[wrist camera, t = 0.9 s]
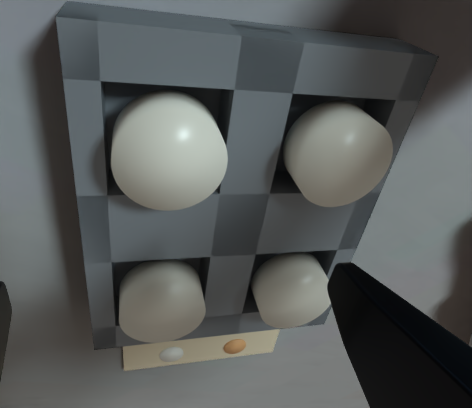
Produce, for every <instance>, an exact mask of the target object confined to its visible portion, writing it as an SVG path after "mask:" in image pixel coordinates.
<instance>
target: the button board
mask: <svg viewBox="0 0 472 408" xmlns="http://www.w3.org/2000/svg"><path fill="white" fill-rule="evenodd" d="M56 24H57V33H58V41H59V50H60V59H61V67H62V76H63V84H64V93H65V102H66V110H67V119H68V127H69V136H70V145H71V153H72V162H73V171H74V179H75V188H76V196H77V205H78V214H79V222H80V231H81V239H82V248H83V257H84V265H85V274H86V282H87V291H88V300H89V308H90V317H91V326H92V334H93V343H94V350H97V349H106V348H115V347H124V346H133V345H142V344H151V343H149V342H142V341H138V340H135V339H133V338H131V337H129V336H128V335H127V334H125V333H124V332H123V330H122V329H121V327H120V324H119V290H120V283H121V281H122V279H123V277H124V276H125V275H126V274H127V272H129V271H130V270H131V269H132V268H134V267H135V266H137V265H139V264H141V263H143V262H146V261H149V260H163V259H176V260H180V261H183V262H185V263H187V264H189V265H191V266H192V267H193V268H194V269H195V270H196V271H197V273H198V275H199V278H200V283H201V288H202V292H203V297H204V302H205V308H206V313H205V317H204V319H203V321H202V322H201V324H200V325H199V326H198V327H197V328H196V329H195V330H193V331H192V332H191V333H189V334H187V335H185V336H183V337H181V338H179V339H176V340H172V341H177V340H186V339H195V338H204V337H213V336H222V335H231V334H240V333H249V332H258V331H267V330H275V329H284V328H275V327H272V326H269V325H267V324H266V323H265V322H264V321H263V320H262V318H261V315H260V313H259V310H258V307H257V304H256V301H255V298H254V295H253V292H252V289H251V281H252V277H253V275H254V273H255V272H256V270H257V269H258V268H259V267H260V266H261V265H262V264H263V263H264V262H266V261H267V260H269V259H270V258H272V257H274V256H276V255H279V254H282V253H289V252H307V253H309V254H311V255H313V256H314V257H315V258H316V259H317V260H318V262H319V264H320V265H321V267H322V269H323V271H324V272H325V274H326V276H327V278H328V280H329V279H330V276H331V274H332V271H333V269H334V267H335V265H336V264H337V263H342V262H351V260H352V258H353V255H354V253H355V251H356V248H357V246H358V244H359V241H360V239H361V237H362V234H363V232H364V230H365V227H366V225H367V223H368V220H369V218H370V216H371V213H372V211H373V209H374V206H375V204H376V202H377V199H378V197H379V195H380V192H381V190H382V188H383V185H384V183H385V181H386V178H387V176H388V174H389V171H390V169H391V167H392V164H393V162H394V160H395V157H396V155H397V153H398V150H399V148H400V146H401V143H402V141H403V139H404V136H405V134H406V132H407V129H408V127H409V125H410V122H411V120H412V118H413V115H414V113H415V111H416V108H417V106H418V104H419V101H420V99H421V97H422V94H423V92H424V90H425V87H426V85H427V83H428V80H429V78H430V76H431V73H432V71H433V69H434V66H435V64H436V62H437V59H438V57H439V56H437V55H434V54H432V53H430V52H428V51H425V50H423V49H421V48H418V47H416V46H414V45H412V44H409V43H407V42H405V41H402V40H400V39H393V38H385V37H376V36H367V35H358V34H350V33H341V32H332V31H323V30H315V29H306V28H297V27H289V26H280V25H271V24H262V23H254V22H245V21H236V20H227V19H219V18H210V17H201V16H192V15H184V14H175V13H166V12H158V11H149V10H140V9H131V8H123V7H114V6H105V5H96V4H88V3H79V2H70V1H67V2H66V3H65V4H64V6H63V7H62V9H61V10H60V11H59V13H58V14H57V15H56ZM156 90H175V91H180V92H184V93H186V94H189V95H191V96H193V97H195V98H196V99H198V100H199V101H200V102H202V103H203V104H204V105H205V106H206V107H207V108H208V110H209V111H210V112H211V114H212V116H213V117H214V120H215V122H216V124H217V126H218V129H219V131H220V133H221V135H222V138H223V140H224V142H225V145H226V149H227V155H228V162H227V169H226V172H225V175H224V178H223V180H222V181H221V183H220V185H219V186H218V187H217V189H216V190H215V191H214V192H213V193H212V194H211V195H210V196H209V197H207V198H206V199H204V200H203V201H201V202H200V203H198V204H196V205H193V206H191V207H188V208H185V209H180V210H172V211H162V210H155V209H151V208H147V207H145V206H142V205H140V204H138V203H136V202H134V201H133V200H131V199H130V198H129V197H128V196H126V195H125V194H124V193H123V191H122V190H121V189H120V188H119V186H118V185H117V183H116V181H115V179H114V176H113V173H112V168H111V151H112V135H113V128H114V124H115V122H116V119H117V117H118V115H119V114H120V112H121V111H122V110H123V108H124V107H125V106H126V105H127V104H128V103H129V102H131V101H132V100H133V99H135V98H137V97H138V96H140V95H142V94H145V93H148V92H151V91H156ZM333 100H342V101H348V102H351V103H353V104H355V105H357V106H358V107H360V108H361V109H362V110H363V111H365V112H366V113H367V114H368V115H370V116H371V117H372V118H373V119H374V120H376V121H377V122H378V123H379V124H381V125H382V126H383V127H384V128H385V129H386V130H387V131H388V133H389V135H390V137H391V140H392V144H393V153H392V159H391V163H390V165H389V168H388V170H387V172H386V173H385V175H384V177H383V178H382V179H381V181H380V182H379V183H378V184H377V185H376V186H375V187H374V188H373V189H372V190H371V191H370V192H369V193H367V194H366V195H365V196H363V197H362V198H360V199H358V200H356V201H354V202H352V203H349V204H346V205H343V206H338V207H323V206H319V205H316V204H314V203H312V202H310V201H309V200H307V199H306V198H305V197H304V195H303V194H302V192H301V191H300V189H299V188H298V186H297V185H296V183H295V182H294V180H293V178H292V177H291V175H290V174H289V172H288V171H287V169H286V167H285V165H284V161H283V144H284V141H285V138H286V136H287V133H288V131H289V130H290V128H291V126H292V125H293V124H294V122H295V121H296V120H297V119H298V118H299V117H300V116H301V115H302V114H303V113H305V112H306V111H307V110H309V109H310V108H312V107H314V106H316V105H318V104H321V103H324V102H327V101H333ZM331 307H332V305H331V304H330V305H329V307H328V308H327V309H326V310H325V311H324V312H323V313H322V314H321V315H320V316H319V317H317V318H316V319H314V320H312V321H310V322H308V323H306V324H304V325H301V326H298V327H302V326H311V325H320V324H324V323H325V321H326V318H327V316H328V314H329V311H330V309H331ZM168 342H169V341H168Z"/></svg>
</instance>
